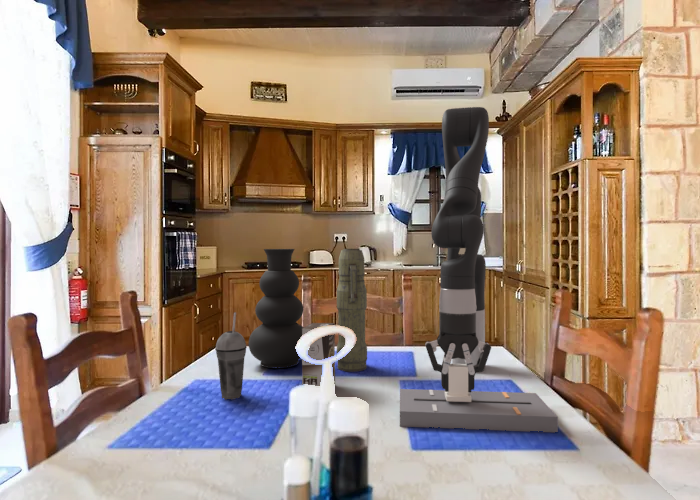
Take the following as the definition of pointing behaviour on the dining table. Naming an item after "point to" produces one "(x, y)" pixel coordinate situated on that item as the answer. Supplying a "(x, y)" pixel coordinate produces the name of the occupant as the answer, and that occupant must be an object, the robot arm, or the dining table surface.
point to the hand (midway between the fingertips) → (457, 390)
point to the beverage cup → (231, 362)
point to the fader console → (477, 411)
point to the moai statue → (352, 308)
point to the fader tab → (458, 383)
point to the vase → (277, 313)
